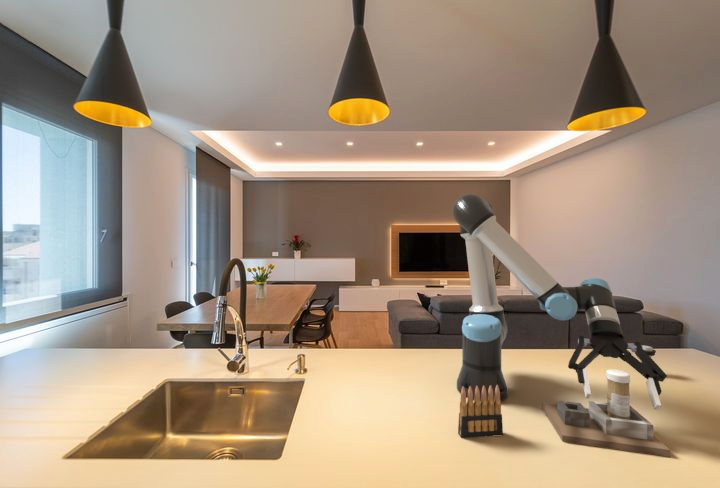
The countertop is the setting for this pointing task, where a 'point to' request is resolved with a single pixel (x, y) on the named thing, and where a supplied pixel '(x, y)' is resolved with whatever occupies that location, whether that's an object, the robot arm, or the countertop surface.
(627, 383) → the sprinkles bottle
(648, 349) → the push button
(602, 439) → the socket board
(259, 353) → the countertop surface
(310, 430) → the countertop surface
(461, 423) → the ammunition clip
